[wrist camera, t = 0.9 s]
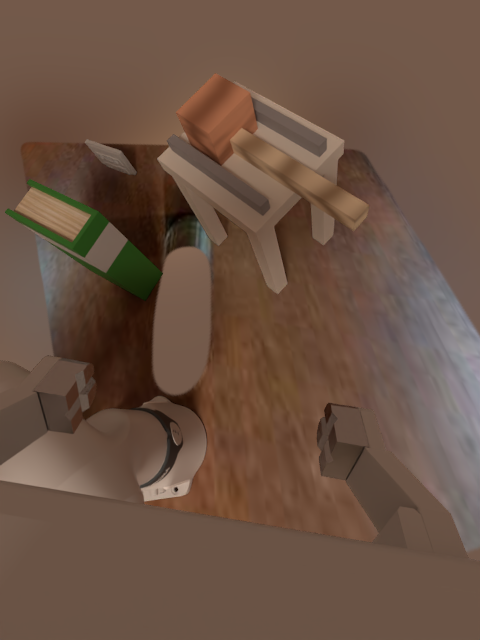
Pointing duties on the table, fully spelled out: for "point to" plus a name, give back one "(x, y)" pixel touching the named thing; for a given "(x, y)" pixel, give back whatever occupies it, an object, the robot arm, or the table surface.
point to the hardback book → (86, 238)
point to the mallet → (258, 148)
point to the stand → (256, 183)
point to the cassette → (111, 157)
